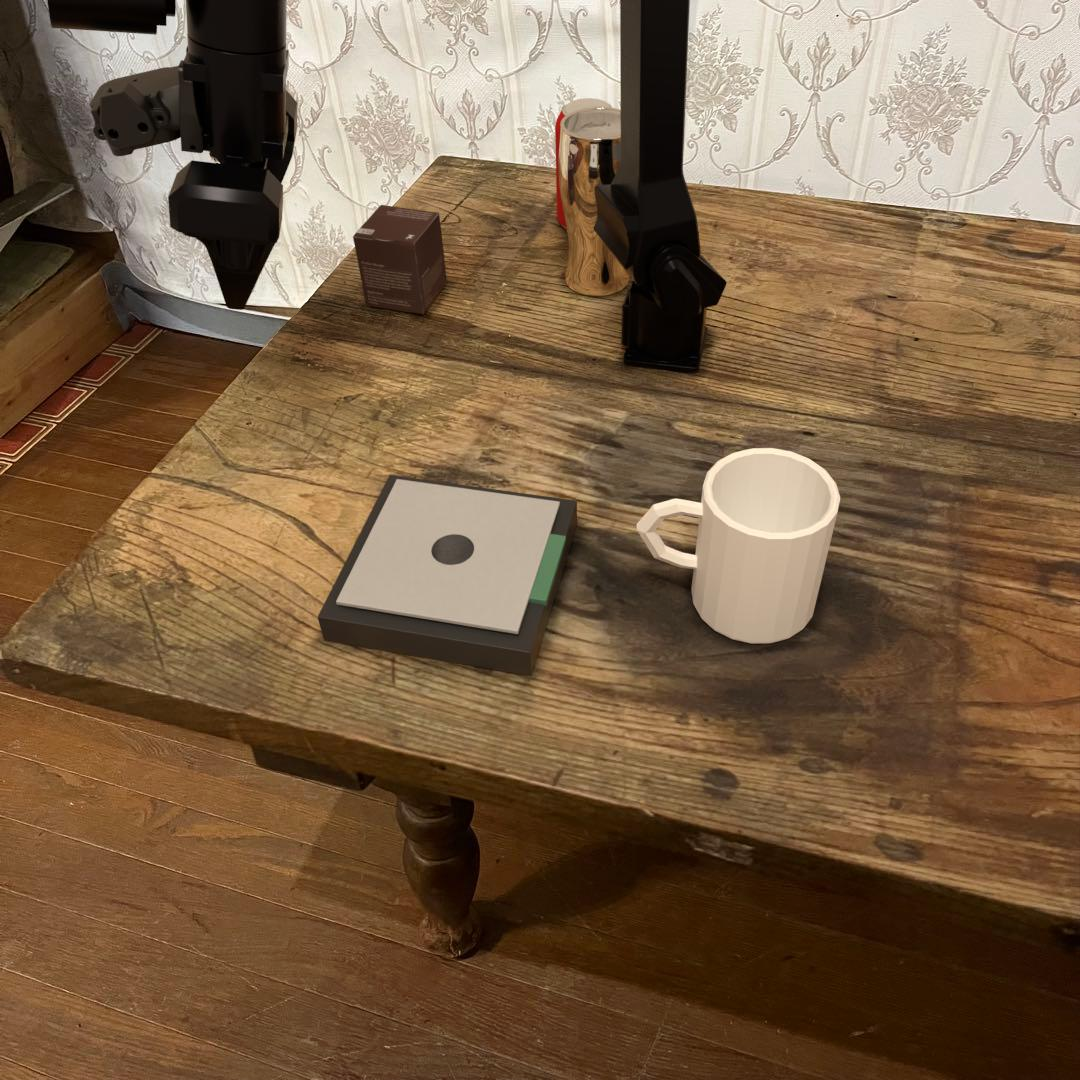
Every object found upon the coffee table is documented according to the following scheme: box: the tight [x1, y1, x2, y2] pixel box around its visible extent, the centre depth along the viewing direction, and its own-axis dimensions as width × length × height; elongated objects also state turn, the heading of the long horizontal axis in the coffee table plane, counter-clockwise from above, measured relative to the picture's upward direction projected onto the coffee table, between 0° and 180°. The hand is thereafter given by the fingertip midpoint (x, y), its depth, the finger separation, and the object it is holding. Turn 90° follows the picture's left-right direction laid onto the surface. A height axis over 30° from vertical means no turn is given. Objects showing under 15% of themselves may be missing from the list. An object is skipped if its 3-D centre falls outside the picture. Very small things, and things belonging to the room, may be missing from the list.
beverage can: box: [554, 97, 613, 230], centre depth 101 cm, size 6×6×12 cm
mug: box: [635, 447, 841, 645], centre depth 66 cm, size 8×12×10 cm
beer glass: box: [559, 107, 630, 297], centre depth 93 cm, size 7×7×15 cm
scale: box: [317, 474, 578, 677], centre depth 70 cm, size 14×14×3 cm
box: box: [352, 204, 448, 315], centre depth 94 cm, size 6×6×7 cm
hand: (242, 275), depth 72 cm, fingers open, 9 cm apart
